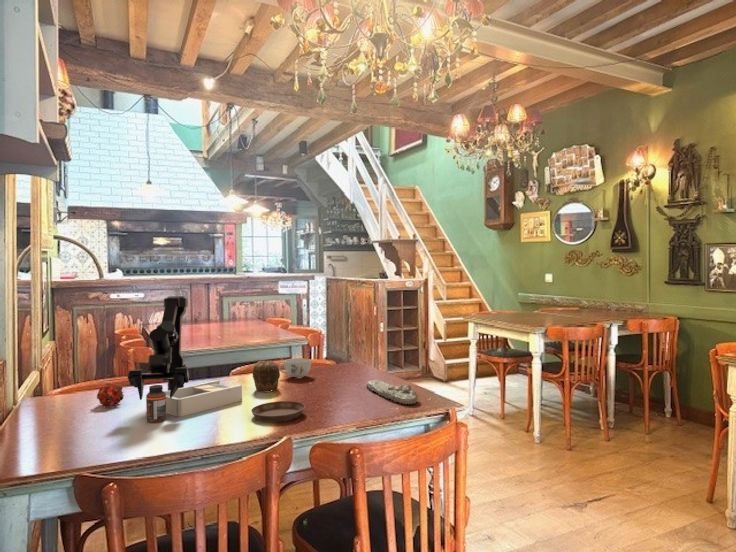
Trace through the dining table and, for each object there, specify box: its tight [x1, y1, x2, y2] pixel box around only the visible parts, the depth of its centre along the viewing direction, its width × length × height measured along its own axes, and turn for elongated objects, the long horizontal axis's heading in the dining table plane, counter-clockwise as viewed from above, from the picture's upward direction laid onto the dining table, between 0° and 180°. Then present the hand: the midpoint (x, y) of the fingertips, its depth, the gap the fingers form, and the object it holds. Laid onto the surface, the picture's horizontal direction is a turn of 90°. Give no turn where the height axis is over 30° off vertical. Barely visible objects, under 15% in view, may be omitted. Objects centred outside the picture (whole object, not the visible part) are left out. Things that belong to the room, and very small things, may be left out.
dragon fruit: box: [96, 382, 125, 408], centre depth 183 cm, size 8×8×12 cm
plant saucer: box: [250, 400, 306, 423], centre depth 167 cm, size 18×18×3 cm
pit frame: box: [163, 379, 243, 418], centre depth 182 cm, size 15×26×6 cm, turn 142°
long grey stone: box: [366, 379, 419, 405], centre depth 193 cm, size 35×5×10 cm
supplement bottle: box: [145, 384, 167, 423], centre depth 164 cm, size 6×6×11 cm
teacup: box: [278, 357, 313, 378], centre depth 228 cm, size 15×12×8 cm
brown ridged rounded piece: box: [252, 360, 281, 392], centre depth 204 cm, size 11×11×12 cm
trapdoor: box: [193, 383, 230, 392], centre depth 186 cm, size 12×9×3 cm
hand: (155, 398), depth 163 cm, fingers open, 9 cm apart
